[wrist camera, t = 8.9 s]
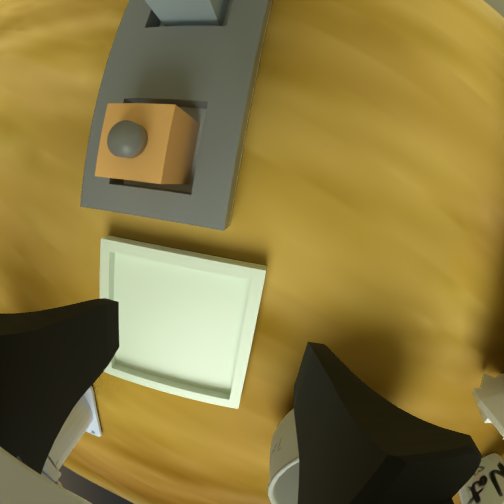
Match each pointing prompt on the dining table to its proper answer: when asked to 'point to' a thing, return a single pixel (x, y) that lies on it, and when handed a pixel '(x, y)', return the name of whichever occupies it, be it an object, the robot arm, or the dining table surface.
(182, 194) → the grey socket board
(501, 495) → the mug
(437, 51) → the dining table surface
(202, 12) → the seated twin plug
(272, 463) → the teacup
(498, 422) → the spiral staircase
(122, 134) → the orange plug
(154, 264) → the tray
